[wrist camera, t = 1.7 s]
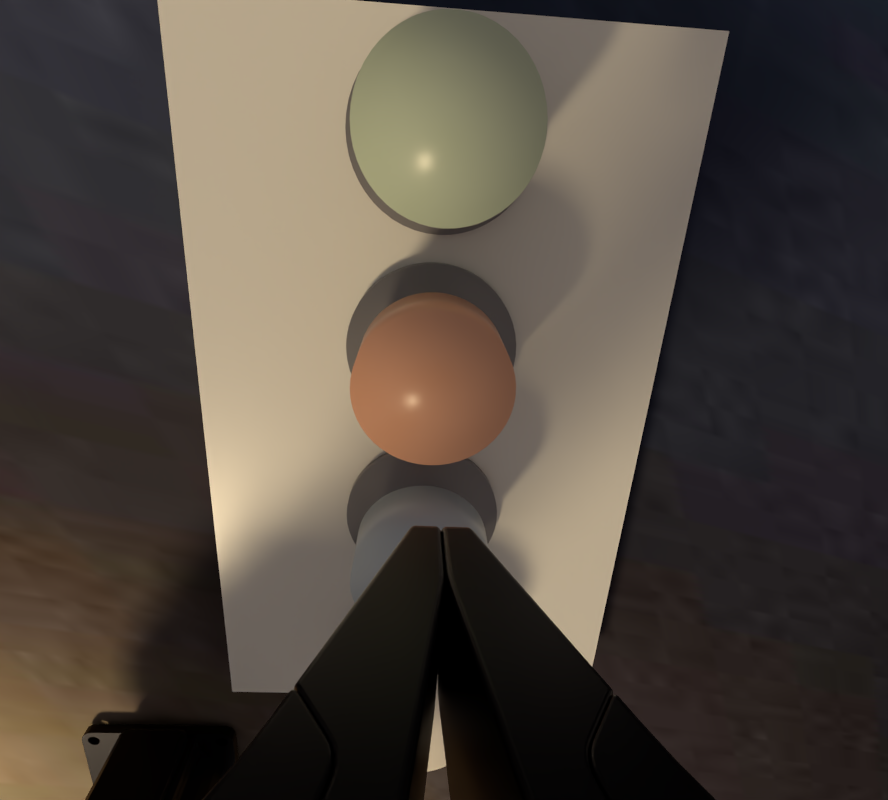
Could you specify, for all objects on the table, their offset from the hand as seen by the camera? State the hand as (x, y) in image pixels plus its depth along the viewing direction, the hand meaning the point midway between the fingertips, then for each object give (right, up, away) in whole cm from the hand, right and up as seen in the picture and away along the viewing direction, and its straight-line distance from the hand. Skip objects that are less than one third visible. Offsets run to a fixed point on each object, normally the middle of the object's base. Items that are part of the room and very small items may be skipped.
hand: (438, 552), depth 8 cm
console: (-1, +2, +12) cm, 12 cm away
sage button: (0, +8, +5) cm, 10 cm away
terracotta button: (0, +3, +7) cm, 8 cm away
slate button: (-1, -2, +10) cm, 10 cm away
